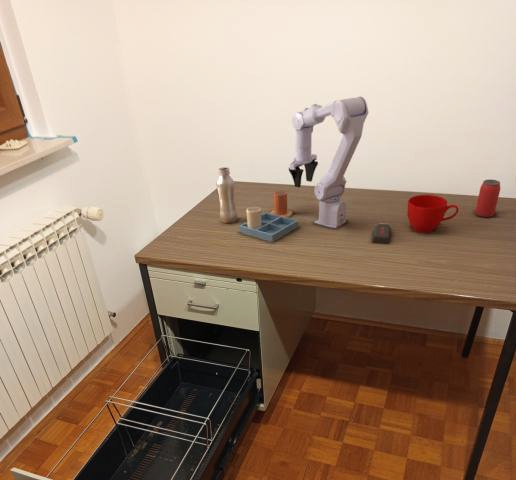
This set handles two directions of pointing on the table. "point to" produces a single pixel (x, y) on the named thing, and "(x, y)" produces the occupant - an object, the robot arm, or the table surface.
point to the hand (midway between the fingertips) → (303, 183)
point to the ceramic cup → (427, 212)
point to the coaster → (283, 215)
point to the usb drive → (382, 233)
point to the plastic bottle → (226, 196)
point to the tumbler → (280, 202)
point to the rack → (270, 227)
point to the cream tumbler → (254, 217)
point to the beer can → (488, 198)
